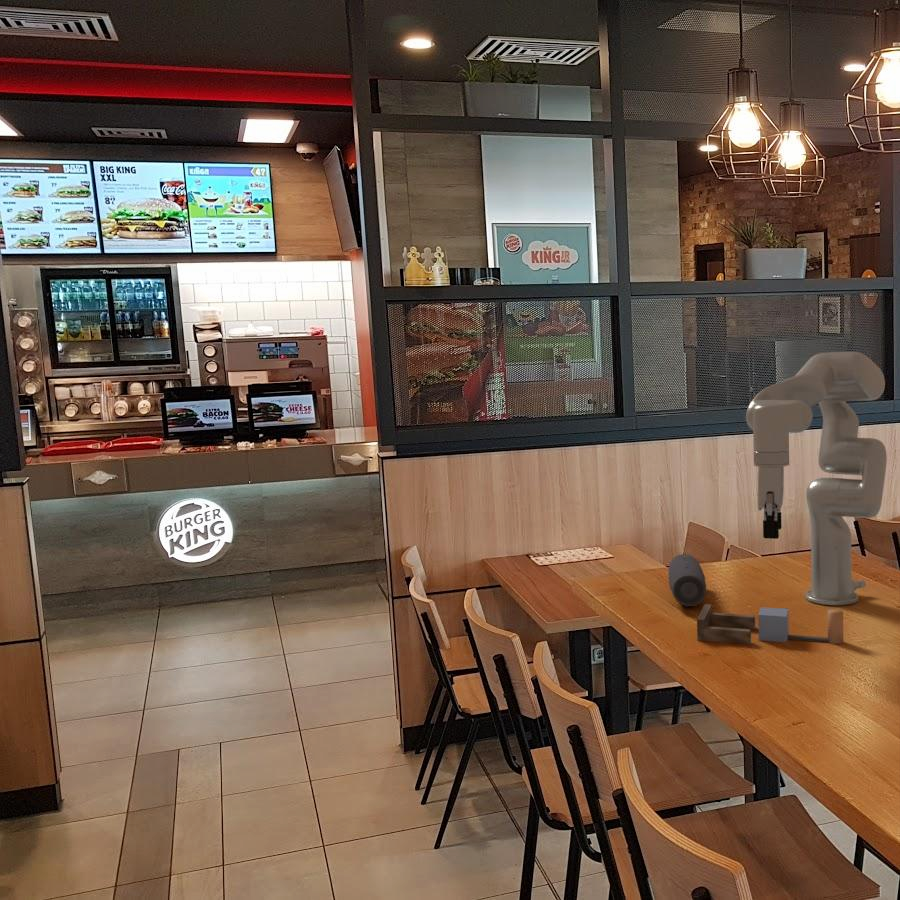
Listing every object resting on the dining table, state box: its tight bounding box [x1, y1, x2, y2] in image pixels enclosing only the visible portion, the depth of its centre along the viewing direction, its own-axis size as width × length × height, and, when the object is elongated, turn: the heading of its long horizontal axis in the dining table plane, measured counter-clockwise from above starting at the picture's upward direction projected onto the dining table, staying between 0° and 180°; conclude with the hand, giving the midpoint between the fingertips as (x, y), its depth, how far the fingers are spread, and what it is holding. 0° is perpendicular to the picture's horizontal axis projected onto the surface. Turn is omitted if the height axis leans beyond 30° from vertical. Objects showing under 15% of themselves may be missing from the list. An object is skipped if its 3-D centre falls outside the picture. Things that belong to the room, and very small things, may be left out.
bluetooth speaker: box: [668, 553, 707, 607], centre depth 237 cm, size 23×9×10 cm, turn 168°
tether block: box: [757, 606, 844, 645], centre depth 201 cm, size 18×6×7 cm, turn 66°
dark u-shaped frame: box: [696, 603, 756, 645], centre depth 207 cm, size 12×12×5 cm
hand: (772, 533), depth 201 cm, fingers open, 9 cm apart
